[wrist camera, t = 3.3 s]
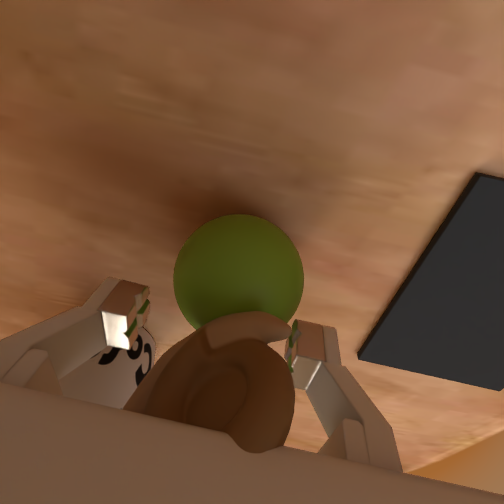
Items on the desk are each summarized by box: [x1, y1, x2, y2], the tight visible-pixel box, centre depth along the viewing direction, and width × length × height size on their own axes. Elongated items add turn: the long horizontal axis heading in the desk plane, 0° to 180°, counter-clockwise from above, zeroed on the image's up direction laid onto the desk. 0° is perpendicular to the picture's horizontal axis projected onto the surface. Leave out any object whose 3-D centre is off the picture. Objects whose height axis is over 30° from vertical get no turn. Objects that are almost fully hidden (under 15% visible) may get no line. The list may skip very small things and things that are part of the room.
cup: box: [58, 327, 155, 409], centre depth 17 cm, size 8×8×10 cm
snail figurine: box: [122, 214, 304, 453], centre depth 10 cm, size 5×6×12 cm
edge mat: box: [357, 173, 504, 391], centre depth 15 cm, size 12×9×1 cm
